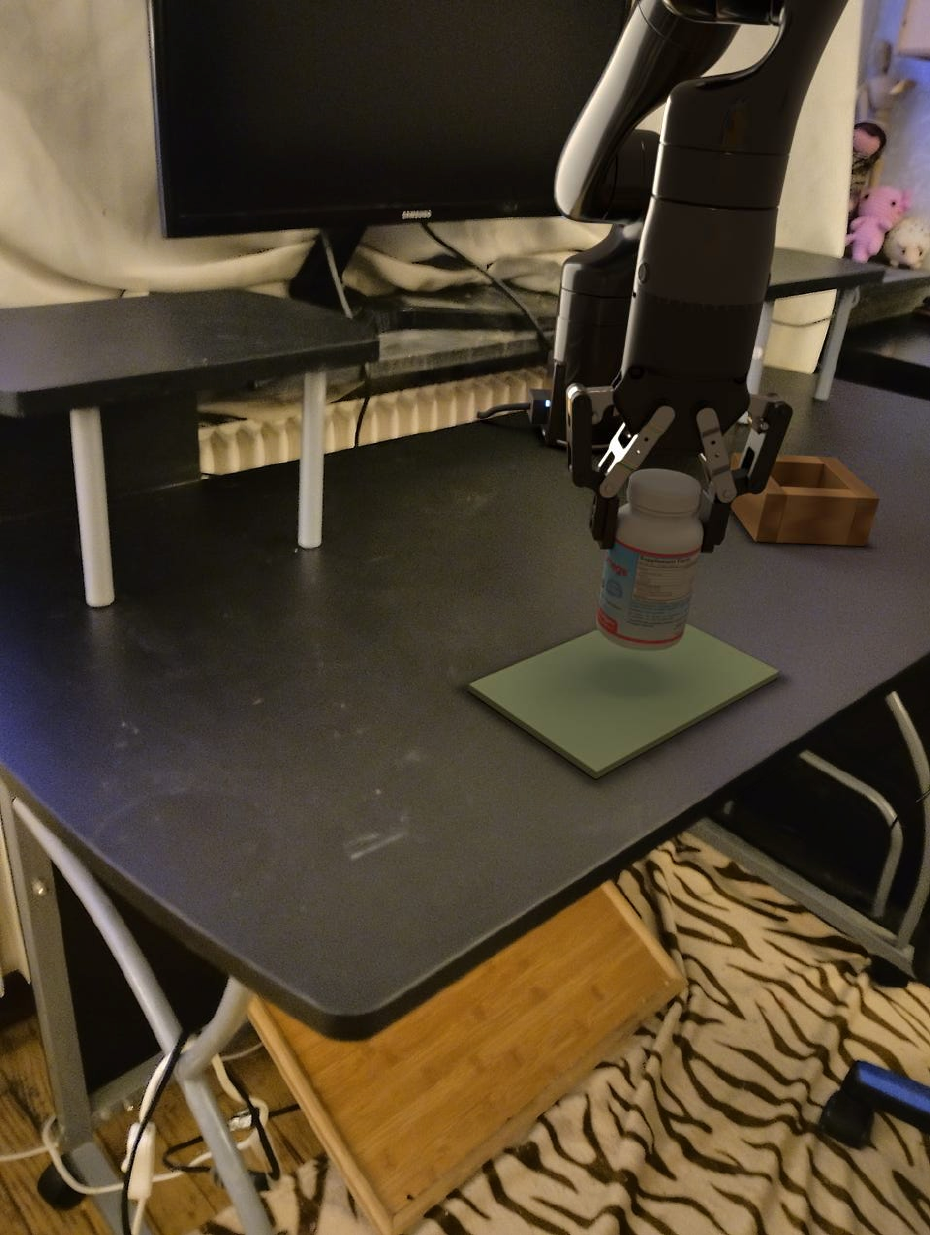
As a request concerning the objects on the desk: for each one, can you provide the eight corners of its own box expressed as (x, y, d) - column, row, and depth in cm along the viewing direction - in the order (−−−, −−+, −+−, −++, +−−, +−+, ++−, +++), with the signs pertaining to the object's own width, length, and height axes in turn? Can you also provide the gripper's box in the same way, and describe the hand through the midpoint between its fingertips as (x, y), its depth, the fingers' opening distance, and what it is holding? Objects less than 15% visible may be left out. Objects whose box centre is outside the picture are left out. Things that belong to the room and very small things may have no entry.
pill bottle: (591, 608, 71) (612, 460, 65) (675, 614, 71) (704, 467, 65) (598, 651, 66) (622, 495, 60) (689, 658, 66) (721, 502, 60)
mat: (595, 779, 61) (596, 771, 60) (467, 690, 68) (468, 683, 68) (777, 677, 72) (779, 670, 72) (651, 611, 80) (653, 605, 80)
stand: (755, 542, 94) (766, 493, 91) (722, 497, 103) (732, 452, 101) (866, 546, 95) (880, 498, 92) (823, 501, 104) (835, 457, 102)
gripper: (797, 279, 61) (741, 527, 69) (567, 265, 60) (538, 519, 68) (844, 306, 54) (776, 576, 62) (587, 291, 53) (553, 568, 61)
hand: (653, 545), depth 65 cm, fingers closed on pill bottle, 6 cm apart
